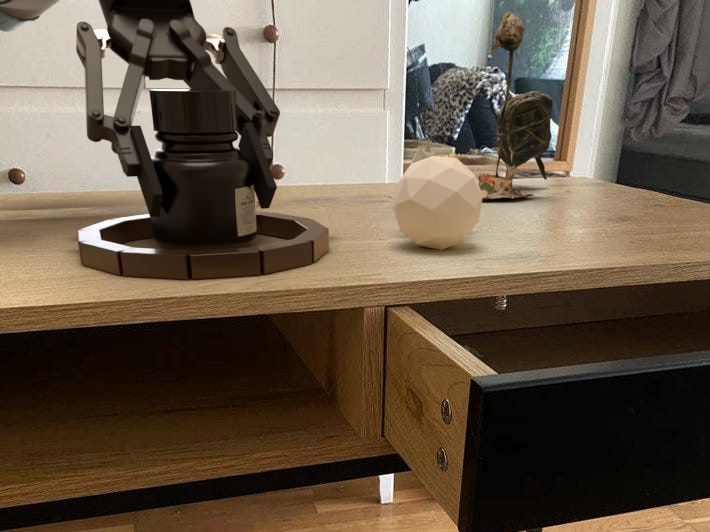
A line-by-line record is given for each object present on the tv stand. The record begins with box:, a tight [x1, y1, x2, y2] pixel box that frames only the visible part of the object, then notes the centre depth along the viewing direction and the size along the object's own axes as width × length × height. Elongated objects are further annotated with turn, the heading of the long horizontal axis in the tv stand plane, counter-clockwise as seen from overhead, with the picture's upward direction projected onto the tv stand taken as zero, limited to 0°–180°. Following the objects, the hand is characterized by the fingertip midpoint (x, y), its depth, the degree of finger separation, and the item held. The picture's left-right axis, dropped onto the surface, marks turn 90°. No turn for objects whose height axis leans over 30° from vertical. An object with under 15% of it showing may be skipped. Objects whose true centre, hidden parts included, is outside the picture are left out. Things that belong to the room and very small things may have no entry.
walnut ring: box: [77, 211, 330, 281], centre depth 66 cm, size 21×21×2 cm
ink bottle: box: [148, 88, 258, 251], centre depth 64 cm, size 10×9×12 cm
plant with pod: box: [478, 11, 555, 200], centre depth 92 cm, size 8×11×20 cm
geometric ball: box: [392, 155, 484, 251], centre depth 67 cm, size 8×8×8 cm
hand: (214, 201), depth 62 cm, fingers closed on ink bottle, 9 cm apart
